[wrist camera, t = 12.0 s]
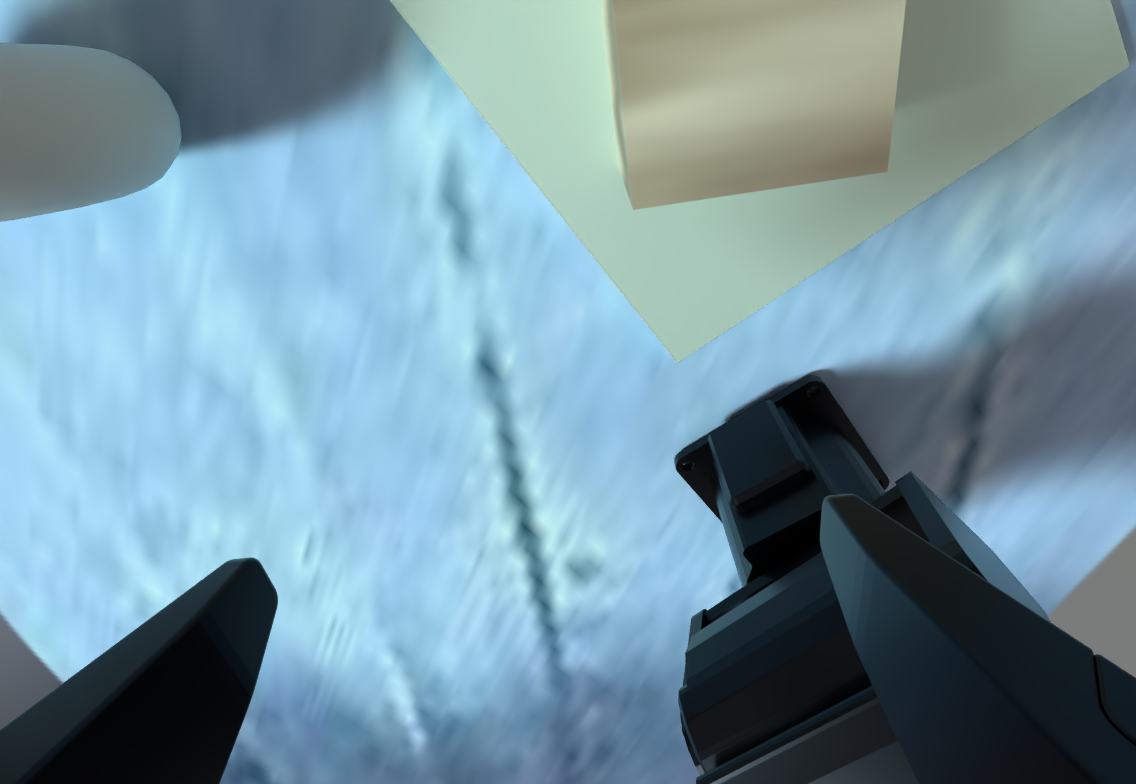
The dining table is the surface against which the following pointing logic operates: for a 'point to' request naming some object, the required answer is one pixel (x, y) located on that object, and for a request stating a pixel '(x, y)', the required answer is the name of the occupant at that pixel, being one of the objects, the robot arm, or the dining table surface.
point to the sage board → (770, 217)
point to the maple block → (749, 93)
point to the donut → (78, 128)
